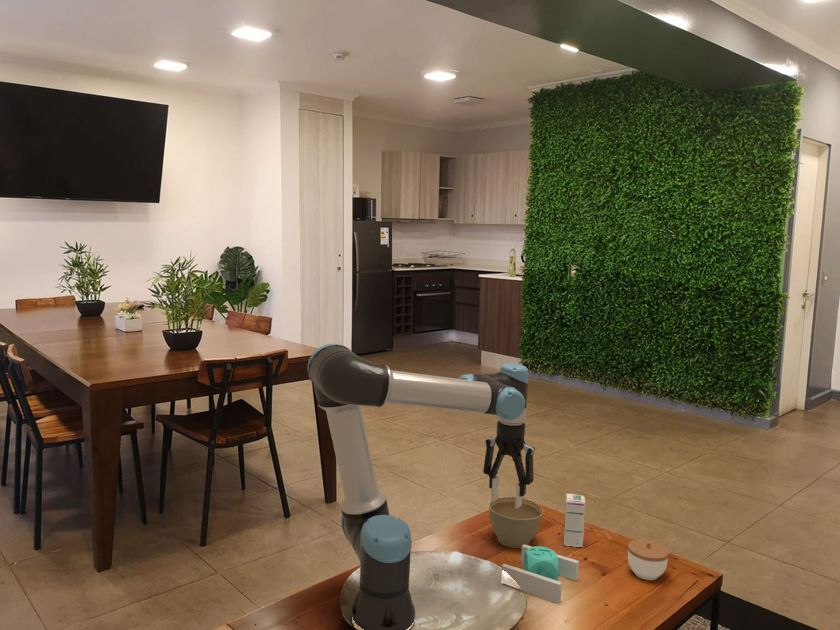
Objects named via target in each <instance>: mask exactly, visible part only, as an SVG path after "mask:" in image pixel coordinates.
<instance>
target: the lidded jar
mask: <svg viewBox="0 0 840 630" xmlns="http://www.w3.org/2000/svg"><path fill="white" fill-rule="evenodd" d="M669 556H670V551H669V549H668V548H667V547H666V546H664V545H662V544H661V543H660V542H659V543H658V542H656V541H652V540H649V539H634V540H631V541H629V543H627V562H628V564H629V567H630V569H631V570H632V572H633V573H634V575H635V576H636V577H638V579H642V580H644V581H656V580H657V579H658V578H659V577H661V576H662V575H663V574H664V573H665V571H666V569H667V565H668V562H669V561H668V560H669Z"/></svg>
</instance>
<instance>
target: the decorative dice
mask: <svg viewBox="0 0 840 630" xmlns="http://www.w3.org/2000/svg"><path fill="white" fill-rule="evenodd" d="M556 554H557V553H556V552H555V551H554V550H553V549H551V548H549V547H546V546H531V548H529V549H528V550H526V551H525V554H524V564H523V570H526V571H529V572H532V573H535V574H538V575H541V576H544V577H547V578H550V579H553V580H556V581H559V580H558V579H559V575H558V558H557V555H556Z"/></svg>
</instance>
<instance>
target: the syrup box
mask: <svg viewBox="0 0 840 630" xmlns="http://www.w3.org/2000/svg"><path fill="white" fill-rule="evenodd" d="M564 504H565V507H564V508H565V509H564V523H563V524H564V526H563V546H564V545H565V547H569V546H573V547H572V548H576V547H583V546H584V536H585V534H584V532H585V517H586V515H585V514H586V496H585V495H584V494H579V493H566V494H565V503H564ZM583 548H584V547H583Z"/></svg>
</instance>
